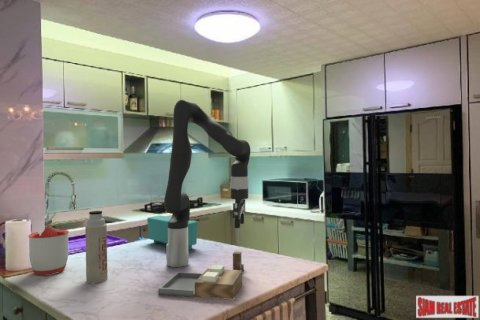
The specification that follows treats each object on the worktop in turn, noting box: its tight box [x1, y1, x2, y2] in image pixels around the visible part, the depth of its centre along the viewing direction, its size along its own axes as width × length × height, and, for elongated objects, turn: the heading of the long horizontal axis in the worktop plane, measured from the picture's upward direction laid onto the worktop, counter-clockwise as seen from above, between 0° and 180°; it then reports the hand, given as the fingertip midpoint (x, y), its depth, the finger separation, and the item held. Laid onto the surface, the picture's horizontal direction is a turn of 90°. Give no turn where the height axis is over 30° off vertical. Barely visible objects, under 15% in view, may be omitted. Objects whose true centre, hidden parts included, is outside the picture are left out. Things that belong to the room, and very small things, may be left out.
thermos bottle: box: [84, 210, 109, 284], centre depth 141 cm, size 8×8×28 cm
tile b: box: [210, 264, 225, 275], centre depth 133 cm, size 4×4×2 cm
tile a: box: [203, 272, 219, 282], centre depth 125 cm, size 4×4×2 cm
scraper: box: [232, 251, 245, 273], centre depth 145 cm, size 3×14×10 cm, turn 167°
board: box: [194, 267, 243, 300], centre depth 129 cm, size 14×16×5 cm
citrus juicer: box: [28, 226, 69, 277], centre depth 153 cm, size 16×17×20 cm
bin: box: [157, 271, 204, 299], centre depth 132 cm, size 13×18×2 cm
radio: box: [146, 215, 199, 251], centre depth 194 cm, size 34×10×15 cm, turn 49°
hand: (239, 225), depth 145 cm, fingers open, 8 cm apart
